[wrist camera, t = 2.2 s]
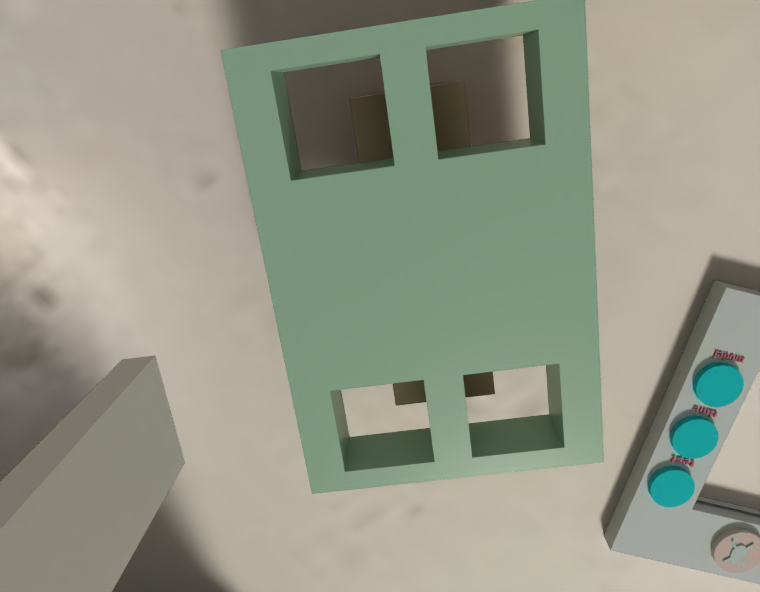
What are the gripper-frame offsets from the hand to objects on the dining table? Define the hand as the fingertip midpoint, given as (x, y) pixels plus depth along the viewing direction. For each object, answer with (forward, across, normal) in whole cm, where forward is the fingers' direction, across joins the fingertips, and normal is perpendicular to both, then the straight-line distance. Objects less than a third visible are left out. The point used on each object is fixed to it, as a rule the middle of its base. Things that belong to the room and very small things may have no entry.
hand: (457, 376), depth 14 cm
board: (+11, 0, 0) cm, 11 cm away
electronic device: (+18, +19, -15) cm, 30 cm away
